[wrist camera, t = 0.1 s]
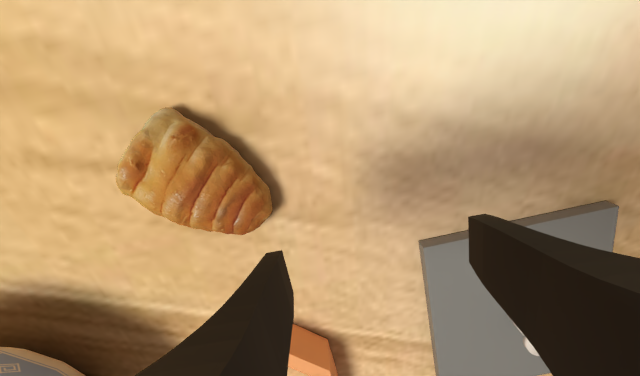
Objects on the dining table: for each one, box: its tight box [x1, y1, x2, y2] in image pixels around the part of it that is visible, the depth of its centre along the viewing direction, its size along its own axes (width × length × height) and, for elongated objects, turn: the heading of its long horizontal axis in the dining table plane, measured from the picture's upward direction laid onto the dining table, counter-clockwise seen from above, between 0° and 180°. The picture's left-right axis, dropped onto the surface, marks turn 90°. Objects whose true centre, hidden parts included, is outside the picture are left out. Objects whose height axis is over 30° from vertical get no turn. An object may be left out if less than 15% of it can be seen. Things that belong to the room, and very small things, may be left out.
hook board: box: [419, 201, 619, 376], centre depth 24 cm, size 16×14×4 cm
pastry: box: [116, 108, 272, 235], centre depth 19 cm, size 9×7×4 cm
